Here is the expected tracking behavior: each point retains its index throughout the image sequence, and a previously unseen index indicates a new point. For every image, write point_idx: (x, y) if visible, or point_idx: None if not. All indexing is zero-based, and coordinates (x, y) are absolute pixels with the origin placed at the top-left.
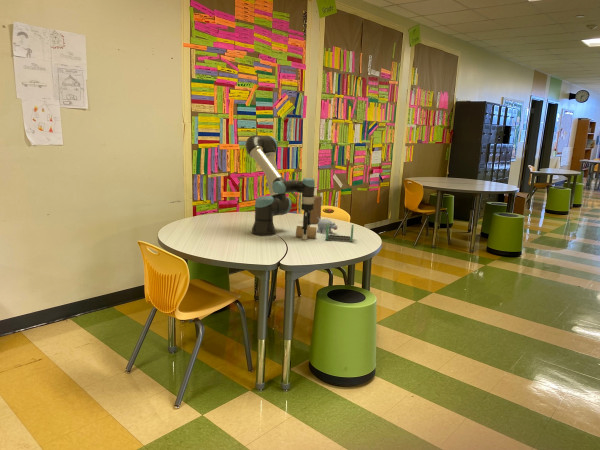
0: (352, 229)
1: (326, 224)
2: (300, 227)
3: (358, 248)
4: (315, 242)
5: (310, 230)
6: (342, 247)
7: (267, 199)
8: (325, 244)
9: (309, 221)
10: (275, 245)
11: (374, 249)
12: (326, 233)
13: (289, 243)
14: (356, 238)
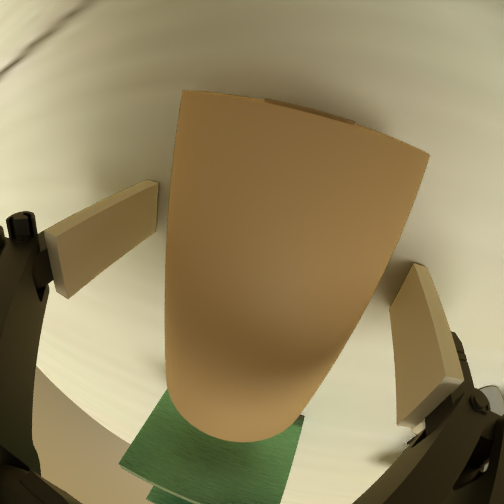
0: (150, 493)
1: None
2: (186, 203)
3: (94, 404)
4: (95, 280)
5: (165, 341)
6: (74, 366)
7: None
8: (81, 322)
9: (366, 491)
10: (8, 11)
11: (109, 430)
12: (150, 415)
13: (31, 72)
14: None
